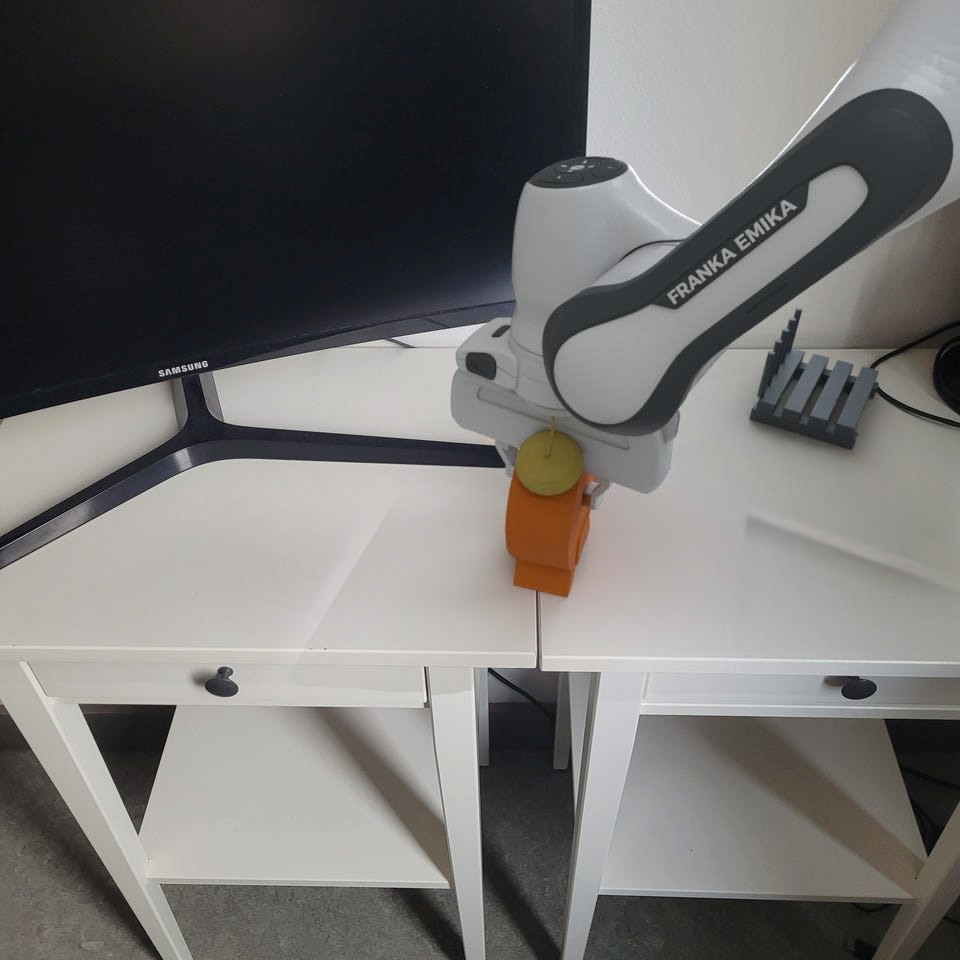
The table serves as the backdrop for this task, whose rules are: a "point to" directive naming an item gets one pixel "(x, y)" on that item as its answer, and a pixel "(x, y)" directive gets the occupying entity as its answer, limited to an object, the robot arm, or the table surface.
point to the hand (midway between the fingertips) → (552, 489)
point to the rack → (811, 392)
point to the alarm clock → (547, 512)
